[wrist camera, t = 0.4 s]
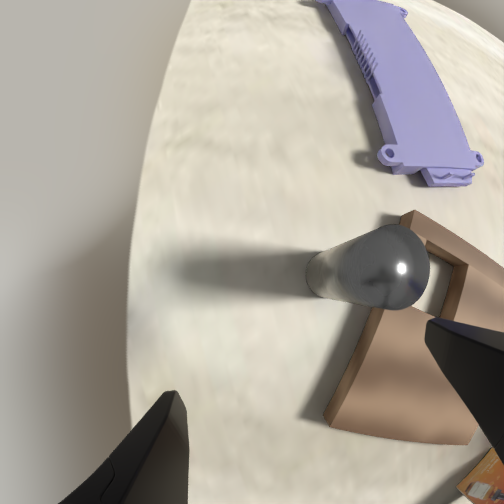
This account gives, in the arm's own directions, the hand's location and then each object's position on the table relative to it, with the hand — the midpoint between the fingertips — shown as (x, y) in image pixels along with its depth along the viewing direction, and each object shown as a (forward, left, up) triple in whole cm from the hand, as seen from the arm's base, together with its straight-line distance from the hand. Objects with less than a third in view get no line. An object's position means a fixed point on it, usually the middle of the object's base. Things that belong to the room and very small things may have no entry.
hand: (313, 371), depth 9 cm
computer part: (+31, -4, -16) cm, 35 cm away
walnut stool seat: (+3, -18, -15) cm, 24 cm away
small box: (-13, -40, -15) cm, 45 cm away
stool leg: (+5, -3, -15) cm, 16 cm away
